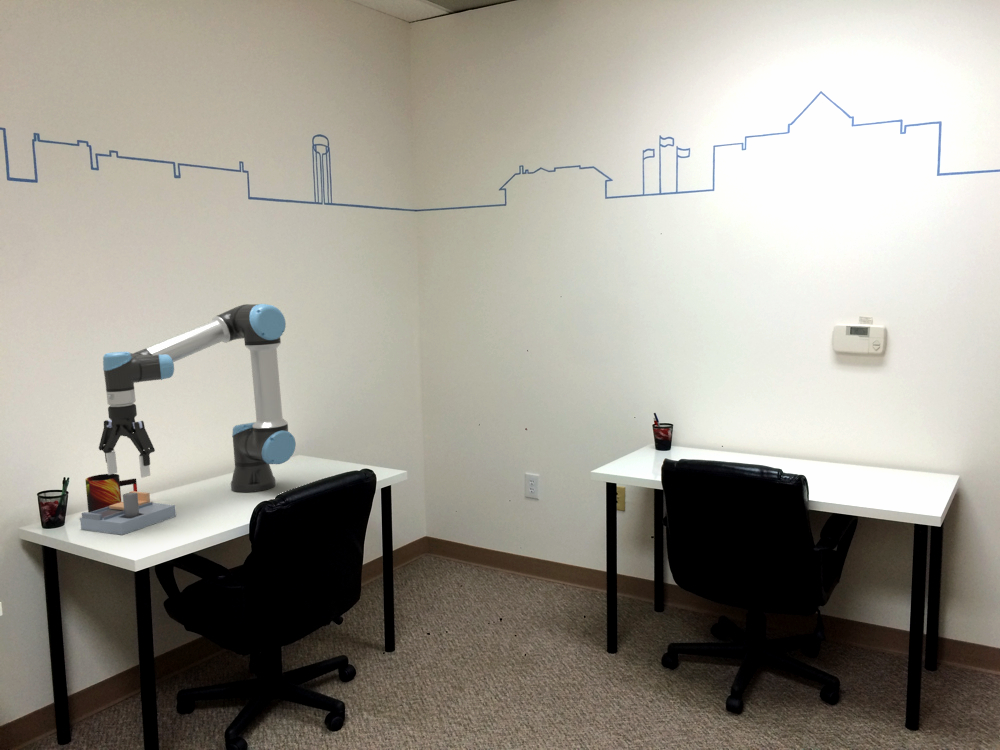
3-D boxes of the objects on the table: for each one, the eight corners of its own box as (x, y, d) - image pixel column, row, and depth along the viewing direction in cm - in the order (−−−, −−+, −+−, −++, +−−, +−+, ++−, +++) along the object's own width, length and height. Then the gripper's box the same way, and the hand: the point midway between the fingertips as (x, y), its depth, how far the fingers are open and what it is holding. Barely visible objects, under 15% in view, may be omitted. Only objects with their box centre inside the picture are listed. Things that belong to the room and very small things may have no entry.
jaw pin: (133, 524, 241) (130, 492, 240) (143, 525, 239) (140, 493, 238) (122, 528, 237) (119, 495, 236) (132, 529, 236) (129, 496, 234)
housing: (136, 511, 255) (134, 495, 255) (175, 516, 248) (174, 500, 248) (81, 529, 237) (79, 512, 237) (122, 535, 230) (120, 517, 230)
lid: (133, 500, 253) (132, 491, 253) (150, 502, 250) (149, 492, 250) (109, 508, 245) (108, 498, 245) (126, 510, 242) (125, 500, 242)
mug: (140, 508, 259) (137, 472, 258) (102, 520, 247) (99, 482, 245) (119, 505, 263) (116, 469, 262) (81, 516, 251) (78, 479, 250)
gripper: (80, 405, 236) (88, 475, 238) (142, 408, 226) (149, 480, 228) (102, 401, 243) (109, 469, 245) (163, 403, 232) (170, 474, 235)
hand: (129, 475), depth 237 cm, fingers open, 13 cm apart
